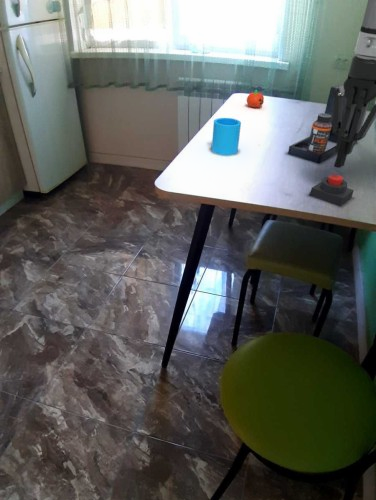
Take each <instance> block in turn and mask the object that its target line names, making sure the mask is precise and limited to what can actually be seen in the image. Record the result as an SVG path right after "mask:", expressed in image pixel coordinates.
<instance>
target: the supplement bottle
mask: <svg viewBox="0 0 376 500" xmlns="http://www.w3.org/2000/svg"><path fill="white" fill-rule="evenodd" d="M330 119H331V115H329V114H325V112H324V113H323V112H321V113H318V114H317V119H316V120H315V121H313V123H312V126H311V130H310V133H309V136H310V138H309V142H308V146H306V150H308V151H311V152H315V153H318V154H322V153H324V152H326V149H327V146H328V142H329V141H328V138H329V135H330V131H331V127H332V125H331V123H330Z"/></svg>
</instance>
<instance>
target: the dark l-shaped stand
mask: <svg viewBox="0 0 376 500" xmlns="http://www.w3.org/2000/svg"><path fill="white" fill-rule="evenodd" d="M342 85H343V84H335V85H332V86H330V90H329V93H328V98H327V101H326V102H327V103H326V106H325V110H324V113H325V114H329V115H331V119H330V123H331V125H332V127H331V131H330V135H329V138H328V142H331V143H336V144H337V141H338V136H337V135H336V134H333V133H332V128H333V111H334V98H333V94H332V90H333V89H335V88H337V87H340V86H342ZM346 104H347V97H346V94H345V91H344V95H343V110H342V121H343V117H344V114H345V110H346ZM369 105H370V103H368V105H367V108H366V110H365V113H364V116H363V119H362V122H361V126H360V129H361V127H362V126H363V124H364V122H365V119H366V118H365V117H366V115H367V112H368V108H369ZM356 108H357V105H356V107H355V109H354V113H353V116H352V120H351V123H350V126H349V130H348V133H347V134H348V135H347V136H346V137H347V138H348V137H349V134H350V131H351V127H352V124H353V120H354V117H355V114H356ZM360 129H359V131H360ZM358 133H359V132H358ZM346 137H345V138H346ZM309 138H310V135H309V136H307V137H305V138H304V139H301V140H299V141H297V142H295V143H293V144H291V145H289V146H288V150H287V151H288V152H287V155H290V156H294V157H297V158H300V159H303V160H307V161H310V162H313V163H316V164H321V163H323V162H325V161H326V160H329V159H331V158H332V157H333V156H336V155H337V154H338V152H336V151H335V148H336V145H335V146H333V147H331V148H329V149H327V150H325V152H324V153H322V154H318V153H315V152H311V151H308V150H307V149H304V148H307V146H308V142H309ZM357 143H358V140H356V141H355V143H354V145H356V144H357Z"/></svg>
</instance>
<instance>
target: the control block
mask: <svg viewBox="0 0 376 500" xmlns="http://www.w3.org/2000/svg"><path fill="white" fill-rule="evenodd" d="M328 179H329V176H328V177H324V178H322V179H321V181H320V182H318V183H316V184H315V185H313V186H312V187H311V189H310V192H309V196H310V197H314V198H316V199H319V200H322V201H325V202H328V203H330V204H333V205H337V206H339V207H341V206H343V205H344V204H345V203H347V202H348V201H349V200H351V199H352V197H353V194H354V191H355V190H354V189H352V188H349V187H348V182H347V181H346V180H345V179H343V181H342V184H341V185H339V186H336V185H331V184H329V183H327V182H328Z"/></svg>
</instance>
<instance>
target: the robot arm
mask: <svg viewBox="0 0 376 500" xmlns="http://www.w3.org/2000/svg"><path fill="white" fill-rule="evenodd" d="M354 53H355V54H356V55H354V56H353V57H352V59H351V62H350V67H349V70H348V73H347V78H346V80H344V82H343V84H341V85H342V86H340V87H337V88H335V89H333V90H332V94H333V98H334V111H333V128H332V133H333V134H336V135H337V136H338V141H337V143H336V145H335V146H336V148H335V151H336V152H338V153H337V154H336V158H335V161H334V165H333V167H334V168H338V169H340V168H342V167H343V166H345V163H346V160H347V157H348V156H349V155H350V154H352V152H353V151H354V150H353V149H354V146H355V144H356V143H355V141H356V140H358V141H360V140H363V139H364V138H366V135H367V134H368V132H369V130H370V128H371V126H372V125H373V123H374V121H375V119H376V0H367V3H366V6H365V11H364V15H363V19H362V23H361V27H360V30H359V33H358V36H357V40H356V44H355V47H354ZM344 91H345V94H346V97H347V104H346V110H345V114H344V117H343V121H342V110H343V95H344ZM374 99H375V100H374ZM373 100H374V105H373V106H372V108H371V109H370V112H369V113H368V115H367V117H366V118H365V119H364V122H363V125H362V127H361V129H360V126H361V122H362V119H363V116H364V113H365V110H366V108H367V105H368V103H369V104H370V103H371V102H372V101H373ZM356 105H357V108H356V114H355V117H354V120H353V124H352V127H351V131H350V134H349V137H348V138H347V137H346V136H347V135H348V134H347V133H348V130H349V126H350V123H351V120H352V116H353V113H354V109H355V107H356ZM368 106H369V105H368ZM359 129H360V131H359ZM358 132H359V133H358ZM345 137H346V138H345ZM358 141H357V142H358ZM354 143H355V144H354Z"/></svg>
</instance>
